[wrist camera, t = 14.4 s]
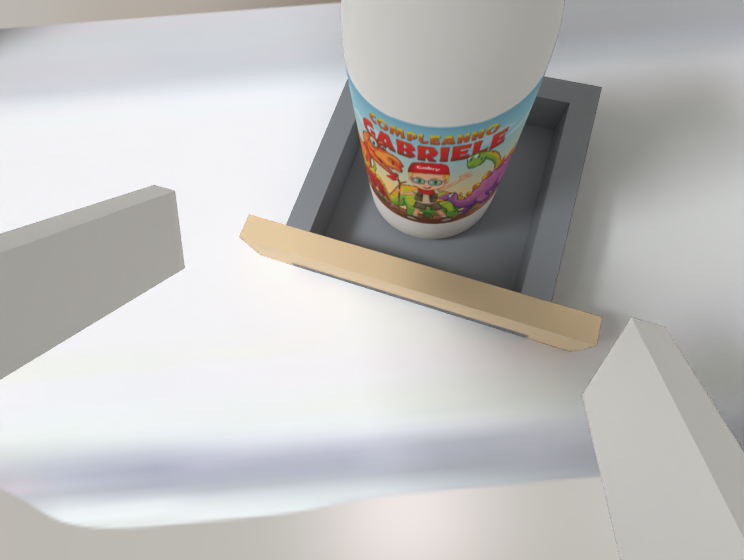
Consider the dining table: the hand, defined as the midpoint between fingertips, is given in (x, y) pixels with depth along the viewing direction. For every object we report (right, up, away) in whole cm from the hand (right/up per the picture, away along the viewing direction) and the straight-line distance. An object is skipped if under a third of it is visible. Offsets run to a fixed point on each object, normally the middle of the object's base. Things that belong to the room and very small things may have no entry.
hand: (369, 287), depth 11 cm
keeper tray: (+4, +6, +14) cm, 16 cm away
